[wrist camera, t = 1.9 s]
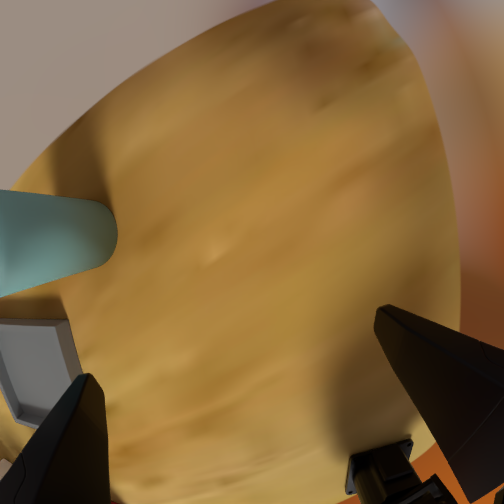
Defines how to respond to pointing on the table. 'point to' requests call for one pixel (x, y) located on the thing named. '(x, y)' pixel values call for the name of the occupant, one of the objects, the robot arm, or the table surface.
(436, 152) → the table surface
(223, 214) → the table surface
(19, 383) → the tray
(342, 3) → the table surface
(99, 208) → the pepper mill
